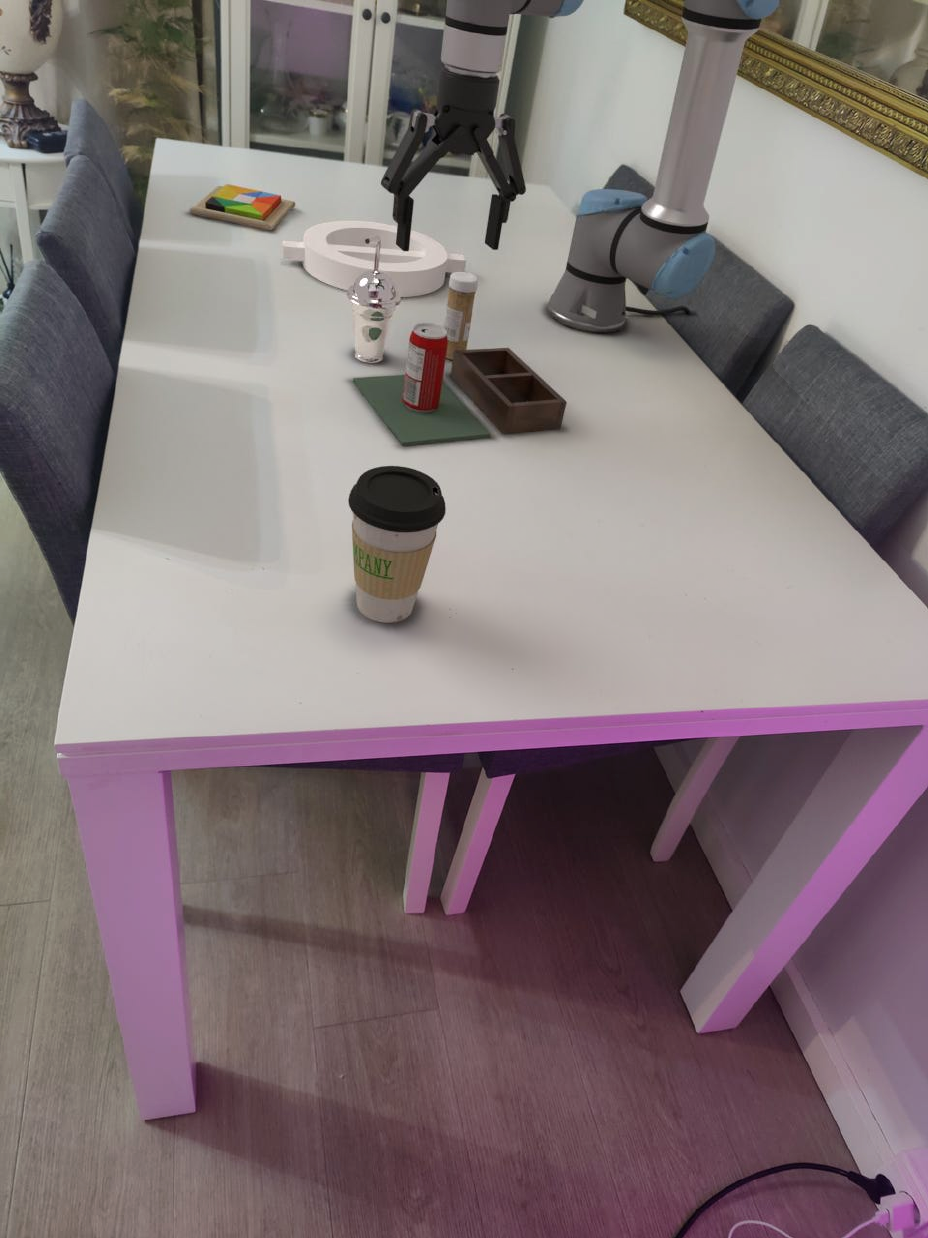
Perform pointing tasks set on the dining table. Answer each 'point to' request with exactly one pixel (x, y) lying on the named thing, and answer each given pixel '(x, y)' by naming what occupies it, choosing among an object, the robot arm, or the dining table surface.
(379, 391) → the rubber mat
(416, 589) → the coffee cup
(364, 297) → the cup with straw
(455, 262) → the ring with crossbar
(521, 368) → the can holder
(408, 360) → the soda can
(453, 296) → the sprinkles bottle
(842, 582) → the dining table surface
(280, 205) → the wooden puzzle
